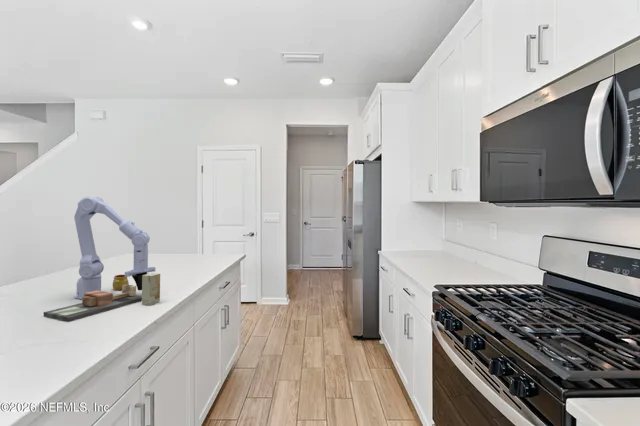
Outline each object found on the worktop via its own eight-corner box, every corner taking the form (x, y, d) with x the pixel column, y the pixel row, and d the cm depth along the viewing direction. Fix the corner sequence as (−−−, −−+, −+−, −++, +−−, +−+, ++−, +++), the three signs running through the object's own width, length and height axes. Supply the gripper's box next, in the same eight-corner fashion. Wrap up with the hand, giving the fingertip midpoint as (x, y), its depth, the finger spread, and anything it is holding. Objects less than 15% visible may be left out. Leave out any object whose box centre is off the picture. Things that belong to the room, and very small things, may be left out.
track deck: (43, 316, 128) (43, 300, 128) (121, 296, 157) (122, 283, 157) (68, 321, 122) (68, 304, 122) (144, 300, 152) (144, 286, 151)
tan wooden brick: (81, 304, 136) (81, 294, 136) (126, 293, 154) (126, 284, 154) (91, 306, 134) (91, 296, 134) (136, 295, 152) (136, 285, 152)
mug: (128, 290, 169) (129, 276, 169) (112, 291, 166) (112, 277, 166) (128, 285, 180) (128, 272, 180) (112, 286, 176) (113, 272, 176)
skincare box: (150, 305, 144) (150, 275, 144) (141, 304, 145) (141, 275, 144) (160, 301, 150) (160, 273, 150) (151, 300, 151) (151, 272, 151)
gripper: (133, 262, 149) (132, 294, 149) (160, 258, 163) (160, 287, 163) (121, 261, 152) (121, 292, 152) (149, 257, 165) (149, 285, 166)
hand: (140, 289), depth 158 cm, fingers closed
